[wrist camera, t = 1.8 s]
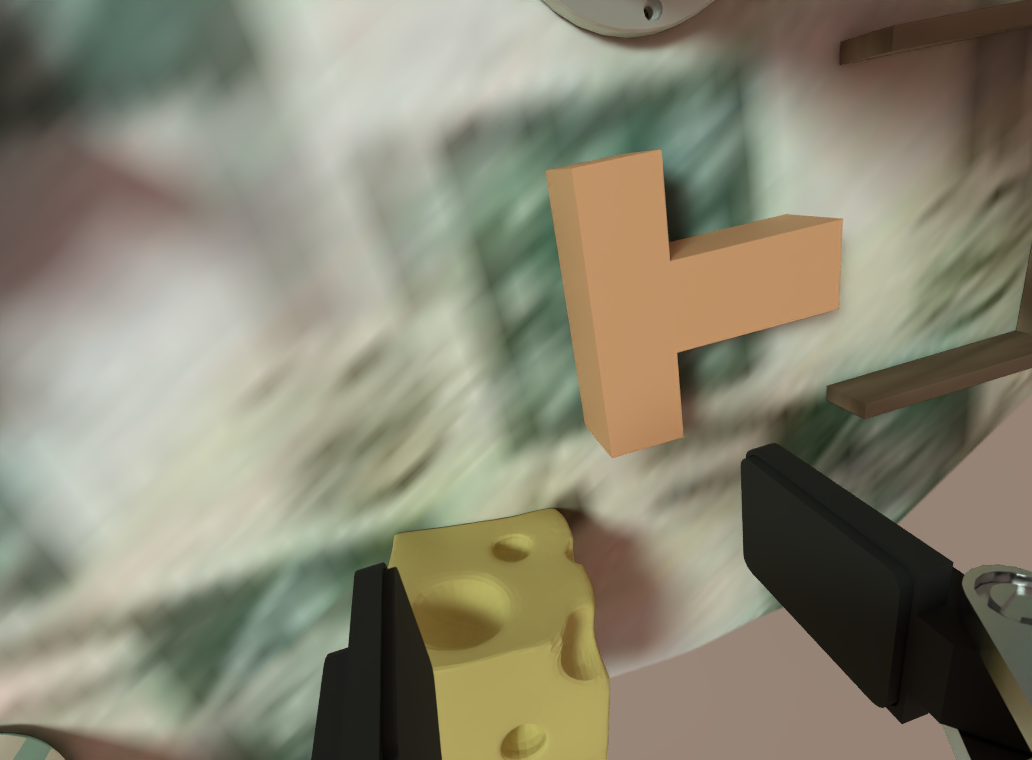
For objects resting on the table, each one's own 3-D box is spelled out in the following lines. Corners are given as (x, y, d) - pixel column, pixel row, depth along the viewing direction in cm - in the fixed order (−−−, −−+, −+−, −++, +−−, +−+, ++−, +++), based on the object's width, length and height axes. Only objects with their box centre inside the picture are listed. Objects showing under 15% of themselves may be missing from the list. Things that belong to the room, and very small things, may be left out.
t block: (545, 170, 25) (571, 168, 22) (786, 119, 27) (847, 109, 24) (585, 425, 31) (612, 458, 27) (784, 368, 33) (834, 392, 29)
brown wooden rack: (841, 41, 26) (893, 25, 24) (1092, -7, 28) (1167, -27, 26) (826, 400, 34) (864, 419, 31) (1025, 340, 36) (1078, 353, 33)
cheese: (557, 501, 32) (625, 628, 23) (556, 637, 36) (613, 792, 27) (381, 527, 30) (379, 678, 21) (399, 668, 34) (404, 848, 25)
